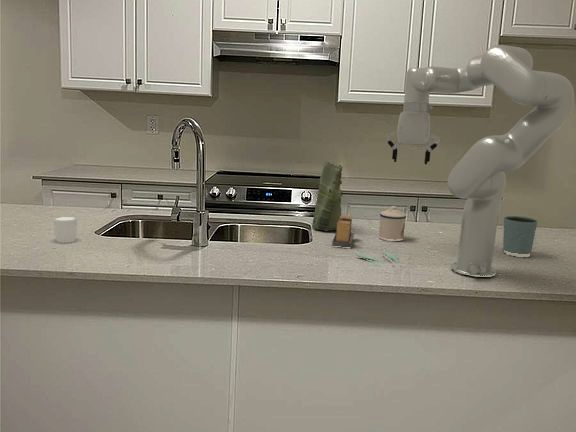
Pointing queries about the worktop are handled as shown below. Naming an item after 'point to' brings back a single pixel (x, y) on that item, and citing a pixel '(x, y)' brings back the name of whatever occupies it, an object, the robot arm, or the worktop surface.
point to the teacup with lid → (392, 224)
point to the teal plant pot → (519, 234)
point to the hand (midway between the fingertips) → (410, 162)
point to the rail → (345, 244)
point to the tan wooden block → (343, 231)
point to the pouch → (328, 198)
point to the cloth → (391, 256)
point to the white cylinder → (65, 229)
